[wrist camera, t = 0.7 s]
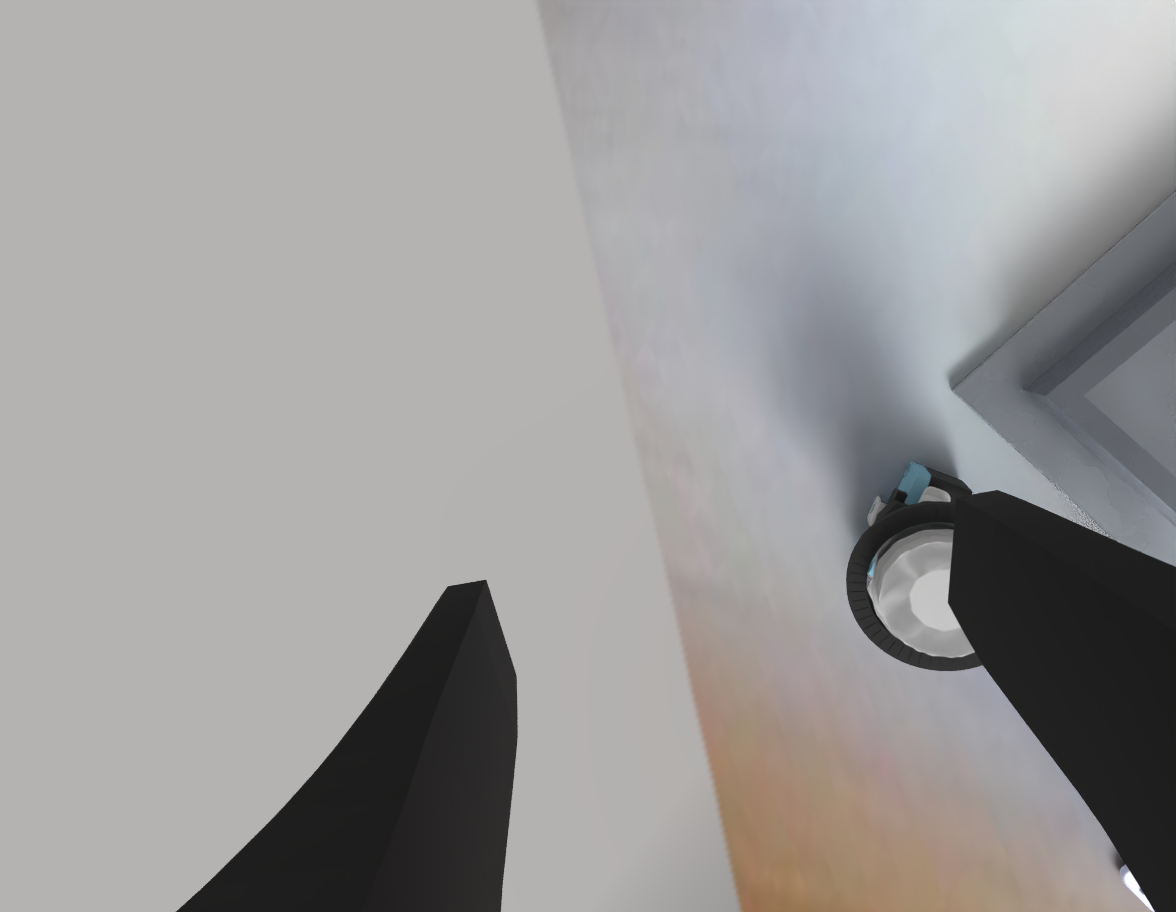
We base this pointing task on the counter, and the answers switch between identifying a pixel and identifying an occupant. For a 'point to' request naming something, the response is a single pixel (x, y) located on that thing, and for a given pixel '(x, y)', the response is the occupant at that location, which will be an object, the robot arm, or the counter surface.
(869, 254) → the counter surface
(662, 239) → the counter surface
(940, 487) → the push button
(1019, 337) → the grey metal tray
